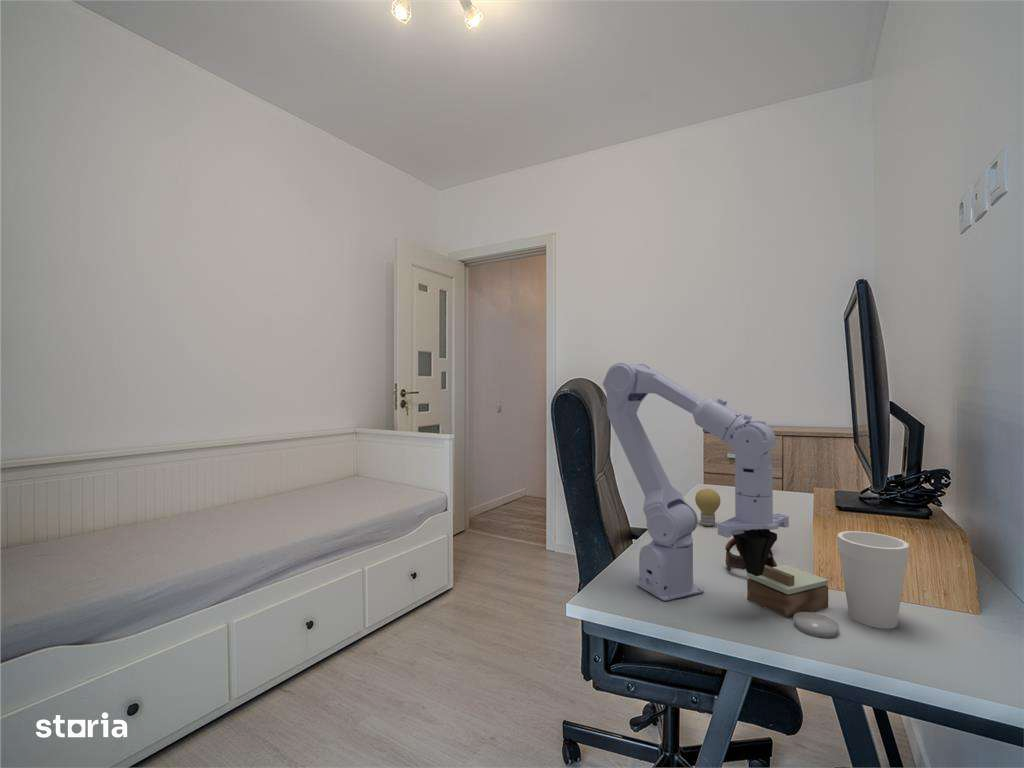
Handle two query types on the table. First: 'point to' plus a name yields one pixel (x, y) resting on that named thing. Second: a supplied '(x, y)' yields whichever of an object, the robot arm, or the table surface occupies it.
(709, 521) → the light bulb
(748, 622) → the table surface
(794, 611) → the box
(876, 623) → the foam cup
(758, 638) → the table surface
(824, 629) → the grey piece
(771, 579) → the lid
